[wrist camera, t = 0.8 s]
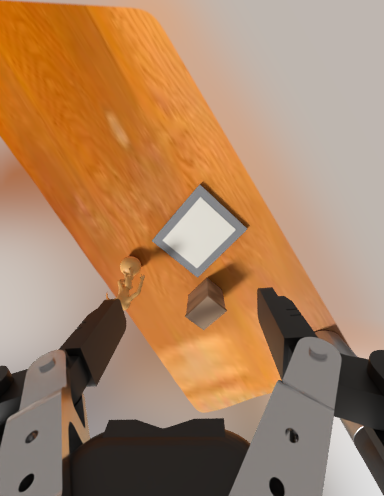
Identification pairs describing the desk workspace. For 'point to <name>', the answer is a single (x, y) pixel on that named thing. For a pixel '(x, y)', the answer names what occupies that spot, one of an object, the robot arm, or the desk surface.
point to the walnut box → (205, 304)
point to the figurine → (128, 280)
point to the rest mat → (199, 232)
